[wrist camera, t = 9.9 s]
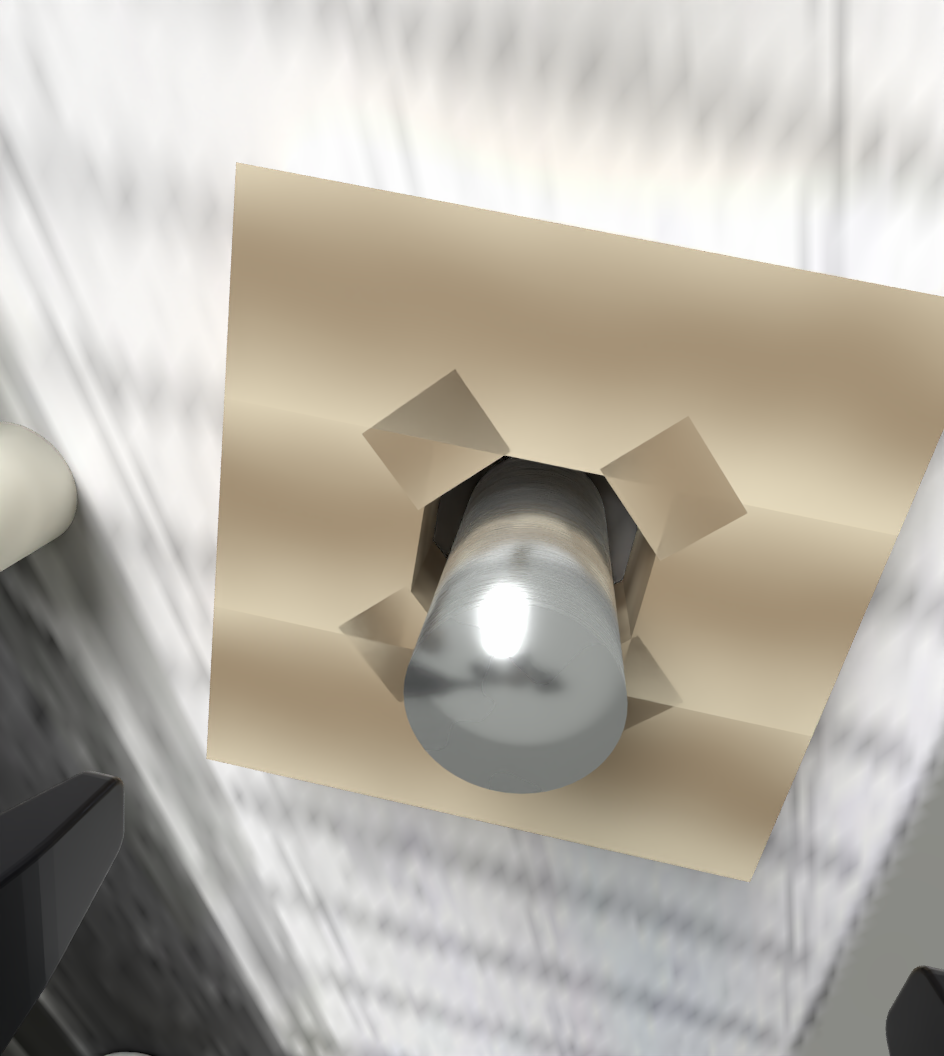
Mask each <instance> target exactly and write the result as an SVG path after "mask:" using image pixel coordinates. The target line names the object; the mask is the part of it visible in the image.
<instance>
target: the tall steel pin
mask: <svg viewBox="0 0 944 1056" xmlns="http://www.w3.org/2000/svg"><path fill="white" fill-rule="evenodd" d="M403 694H404V706H405V710H406V715H407V718H408V721H409V724H410V726H411V729H412V730H413V732H414V734H415V736H416V738H417V740H418V741H419V742H420V744H421V745H422V747H423V748H424V749H425V751H426V752H427V753H428V754H429V755H430V756H431V757H432V758H433V759H434V760H435V761H436V762H437V763H439V764H440V765H441V766H442V767H443V768H445V769H446V770H448V771H449V772H451V773H452V774H453V775H455V776H457V777H459V778H461V779H463V780H465V781H466V782H469V783H471V784H474V785H476V786H479V787H482V788H486V789H489V790H493V791H499V792H504V793H516V794H529V793H540V792H546V791H551V790H555V789H558V788H562V787H564V786H567V785H570V784H572V783H574V782H576V781H578V780H580V779H582V778H584V777H585V776H587V775H588V774H590V773H591V772H592V771H594V770H595V769H596V768H598V767H599V766H600V765H601V764H602V763H603V762H604V761H605V760H606V759H607V757H608V756H609V755H610V754H611V752H612V751H613V750H614V748H615V746H616V745H617V743H618V741H619V739H620V737H621V734H622V732H623V729H624V726H625V722H626V717H627V705H628V702H627V691H626V683H625V675H624V666H623V658H622V650H621V642H620V633H619V625H618V617H617V608H616V600H615V592H614V584H613V575H612V567H611V559H610V550H609V542H608V534H607V526H606V517H605V509H604V505H603V501H602V499H601V496H600V494H599V492H598V490H597V488H596V486H595V485H594V483H593V482H592V481H591V480H590V478H589V477H588V476H587V475H586V474H585V473H584V472H583V471H579V470H574V469H569V468H564V467H560V466H555V465H550V464H545V463H540V462H535V461H530V460H525V459H520V458H516V457H513V458H510V459H507V460H505V461H503V462H501V463H499V464H497V465H496V466H494V467H493V468H492V469H490V470H489V471H488V472H487V473H486V474H485V475H484V476H483V477H482V478H481V479H480V481H479V482H478V483H477V485H476V487H475V488H474V490H473V492H472V495H471V497H470V499H469V502H468V505H467V508H466V510H465V513H464V516H463V518H462V521H461V524H460V527H459V529H458V532H457V535H456V537H455V540H454V543H453V546H452V548H451V551H450V554H449V556H448V559H447V562H446V565H445V567H444V570H443V573H442V575H441V578H440V581H439V583H438V586H437V589H436V592H435V594H434V597H433V600H432V602H431V605H430V608H429V611H428V613H427V616H426V619H425V621H424V624H423V627H422V630H421V632H420V635H419V638H418V640H417V643H416V646H415V649H414V651H413V654H412V657H411V659H410V662H409V665H408V668H407V671H406V676H405V680H404V691H403Z"/></svg>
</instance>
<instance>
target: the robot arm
mask: <svg viewBox="0 0 944 1056" xmlns="http://www.w3.org/2000/svg"><path fill="white" fill-rule="evenodd" d="M123 836H124V785H123V782H122V780H121V779H120V778H118V777H116V776H111V775H107V774H103V773H99V772H94V771H85V772H82V773H79V774H77V775H75V776H73V777H71V778H69V779H68V780H66V781H64V782H62V783H60V784H58V785H56V786H54V787H52V788H50V789H48V790H46V791H44V792H42V793H40V794H38V795H36V796H34V797H32V798H30V799H28V800H26V801H24V802H23V803H21V804H19V805H17V806H15V807H13V808H11V809H9V810H7V811H5V812H3V813H1V814H0V1055H1V1054H2V1052H3V1051H4V1049H5V1048H6V1046H7V1045H8V1043H9V1042H10V1040H11V1039H12V1037H13V1036H14V1034H15V1033H16V1031H17V1030H18V1028H19V1027H20V1025H21V1024H22V1022H23V1021H24V1019H25V1018H26V1016H27V1015H28V1013H29V1012H30V1010H31V1009H32V1007H33V1006H34V1004H35V1003H36V1001H37V999H38V998H39V996H40V995H41V993H42V991H43V990H44V988H45V987H46V985H47V983H48V982H49V980H50V978H51V976H52V974H53V973H54V971H55V969H56V967H57V966H58V964H59V962H60V960H61V958H62V956H63V955H64V953H65V951H66V949H67V947H68V945H69V943H70V941H71V940H72V938H73V936H74V934H75V932H76V930H77V928H78V927H79V925H80V923H81V921H82V919H83V917H84V915H85V913H86V912H87V910H88V908H89V906H90V904H91V902H92V900H93V899H94V897H95V895H96V893H97V891H98V889H99V887H100V885H101V884H102V882H103V880H104V878H105V876H106V874H107V872H108V870H109V869H110V867H111V865H112V863H113V861H114V859H115V857H116V856H117V853H118V851H119V849H120V846H121V844H122V840H123ZM886 1038H887V1044H888V1049H889V1054H890V1056H944V970H941V969H937V968H933V967H929V966H919V967H917V968H915V969H914V970H913V971H912V972H911V974H910V975H909V977H908V979H907V981H906V983H905V984H904V986H903V988H902V989H901V991H900V993H899V995H898V996H897V998H896V1000H895V1001H894V1003H893V1005H892V1007H891V1009H890V1010H889V1012H888V1016H887V1020H886Z"/></svg>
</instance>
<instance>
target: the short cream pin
mask: <svg viewBox="0 0 944 1056" xmlns="http://www.w3.org/2000/svg"><path fill="white" fill-rule="evenodd" d="M76 508H77V490H76V485H75V481H74V478H73V475H72V473H71V471H70V469H69V467H68V465H67V463H66V462H65V460H64V458H63V457H62V456H61V454H60V453H59V452H58V451H57V450H56V448H55V447H54V446H53V445H52V444H51V443H49V442H48V441H47V440H46V439H45V438H43V437H42V436H41V435H39V434H38V433H36V432H34V431H32V430H30V429H29V428H26V427H24V426H21V425H18V424H14V423H9V422H0V572H1V571H3V570H4V569H6V568H8V567H9V566H11V565H13V564H14V563H16V562H18V561H19V560H21V559H23V558H24V557H26V556H27V555H29V554H31V553H32V552H34V551H36V550H37V549H39V548H41V547H42V546H44V545H46V544H47V543H49V542H51V541H52V540H54V539H56V538H57V537H59V536H60V535H62V534H63V533H64V532H65V531H66V530H67V528H68V527H69V526H70V524H71V523H72V521H73V519H74V516H75V513H76Z"/></svg>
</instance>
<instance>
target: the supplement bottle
mask: <svg viewBox="0 0 944 1056" xmlns="http://www.w3.org/2000/svg"><path fill="white" fill-rule="evenodd" d="M105 1056H150V1055H147V1054H143V1053H137V1052H117V1053H112V1054H108V1055H105Z"/></svg>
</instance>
